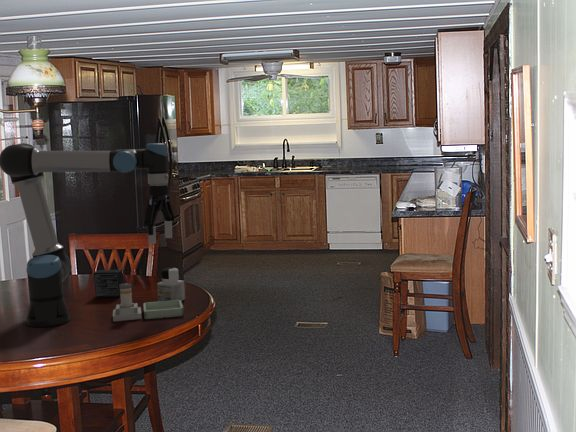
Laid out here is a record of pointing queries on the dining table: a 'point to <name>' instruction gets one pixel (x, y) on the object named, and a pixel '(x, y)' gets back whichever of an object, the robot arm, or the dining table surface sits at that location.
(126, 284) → the fuse
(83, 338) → the dining table surface
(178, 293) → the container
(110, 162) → the robot arm
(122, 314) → the holder
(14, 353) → the dining table surface
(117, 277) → the small box
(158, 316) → the tray
